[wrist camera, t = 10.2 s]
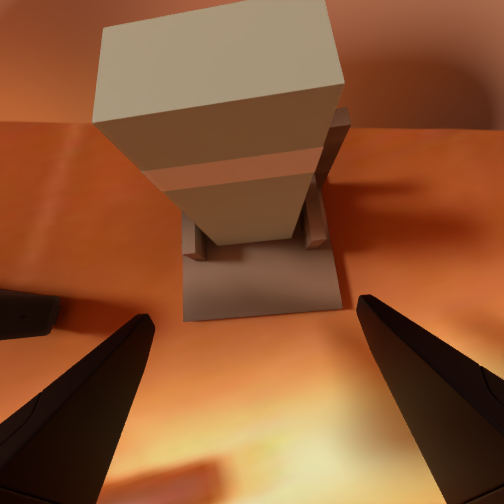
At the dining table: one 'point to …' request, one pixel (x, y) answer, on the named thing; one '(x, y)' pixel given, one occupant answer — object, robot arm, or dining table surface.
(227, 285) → the book rack
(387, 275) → the dining table surface
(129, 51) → the book
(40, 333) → the magazine
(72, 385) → the robot arm
